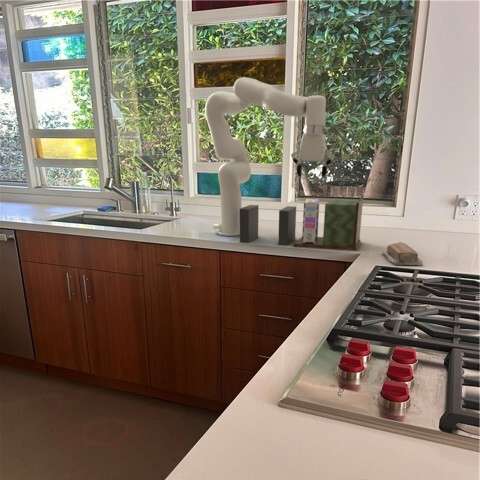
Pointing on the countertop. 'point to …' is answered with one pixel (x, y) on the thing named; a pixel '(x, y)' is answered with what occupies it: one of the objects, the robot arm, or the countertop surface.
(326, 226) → the green zigzag bookend
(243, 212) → the grey rectangular blocks
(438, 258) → the countertop surface
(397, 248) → the butter dish
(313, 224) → the candy box
